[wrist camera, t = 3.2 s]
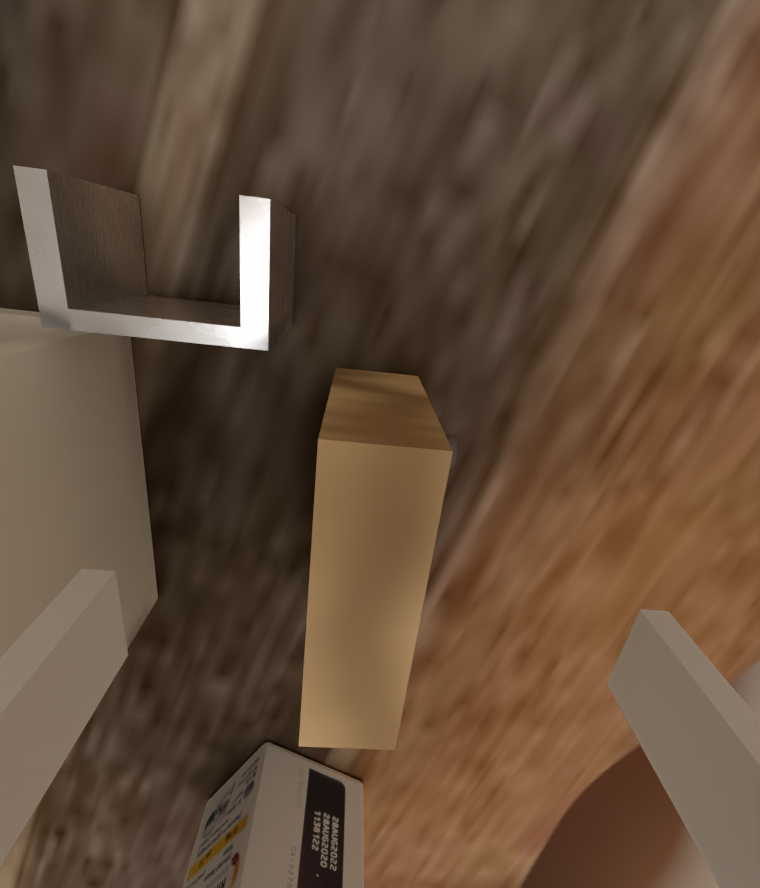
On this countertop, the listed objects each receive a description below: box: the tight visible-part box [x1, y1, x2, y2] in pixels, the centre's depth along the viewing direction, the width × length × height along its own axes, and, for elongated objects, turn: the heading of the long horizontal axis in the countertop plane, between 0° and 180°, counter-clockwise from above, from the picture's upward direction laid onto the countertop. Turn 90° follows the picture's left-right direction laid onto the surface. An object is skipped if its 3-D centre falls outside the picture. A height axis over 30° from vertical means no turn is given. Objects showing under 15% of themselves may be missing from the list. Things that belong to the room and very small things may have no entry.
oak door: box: [299, 368, 458, 750], centre depth 17 cm, size 4×12×8 cm, turn 174°
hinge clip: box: [13, 166, 296, 351], centre depth 14 cm, size 6×4×5 cm, turn 83°
